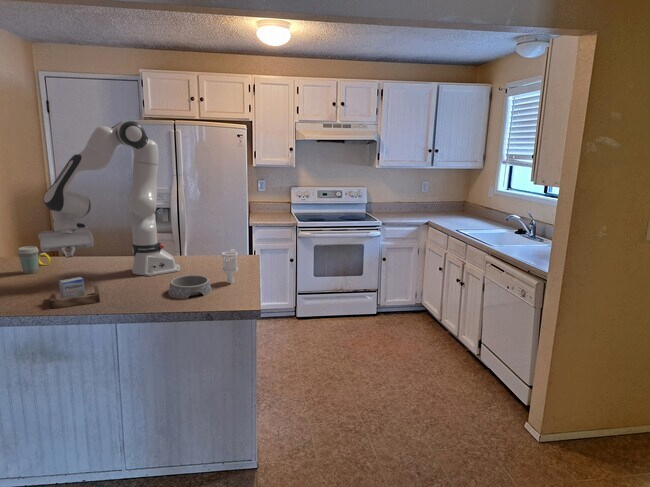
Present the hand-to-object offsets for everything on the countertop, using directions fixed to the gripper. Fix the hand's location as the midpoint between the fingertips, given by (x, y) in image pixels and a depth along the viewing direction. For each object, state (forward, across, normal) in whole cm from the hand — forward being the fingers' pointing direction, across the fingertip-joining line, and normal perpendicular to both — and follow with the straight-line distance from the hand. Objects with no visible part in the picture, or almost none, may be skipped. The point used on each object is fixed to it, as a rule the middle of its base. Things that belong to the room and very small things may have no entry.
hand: (69, 256), depth 191 cm
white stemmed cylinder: (+27, +63, -8) cm, 69 cm away
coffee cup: (-13, -16, +34) cm, 40 cm away
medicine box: (+22, -1, -2) cm, 22 cm away
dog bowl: (+30, +43, -10) cm, 54 cm away
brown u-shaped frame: (+22, 0, -3) cm, 22 cm away
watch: (-21, -10, +43) cm, 49 cm away
